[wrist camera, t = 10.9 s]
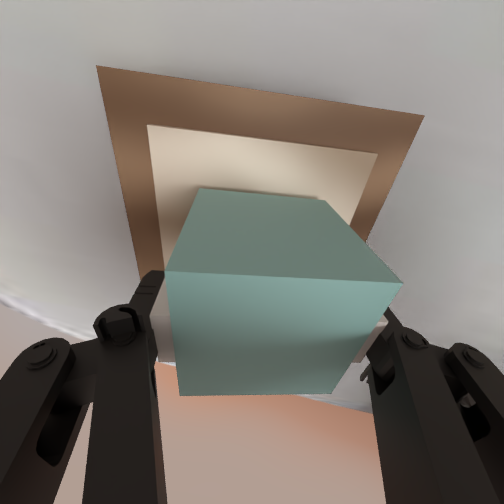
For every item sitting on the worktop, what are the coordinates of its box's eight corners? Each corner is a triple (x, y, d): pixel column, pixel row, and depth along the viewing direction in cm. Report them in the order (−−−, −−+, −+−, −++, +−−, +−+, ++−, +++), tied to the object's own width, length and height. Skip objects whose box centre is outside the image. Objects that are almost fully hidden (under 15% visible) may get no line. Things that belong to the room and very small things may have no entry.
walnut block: (306, 265, 27) (331, 322, 20) (170, 257, 25) (145, 318, 18) (355, 110, 18) (431, 115, 11) (152, 80, 16) (89, 63, 9)
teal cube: (296, 290, 16) (331, 393, 11) (200, 286, 16) (179, 395, 10) (325, 200, 13) (403, 283, 7) (199, 188, 12) (164, 270, 6)
